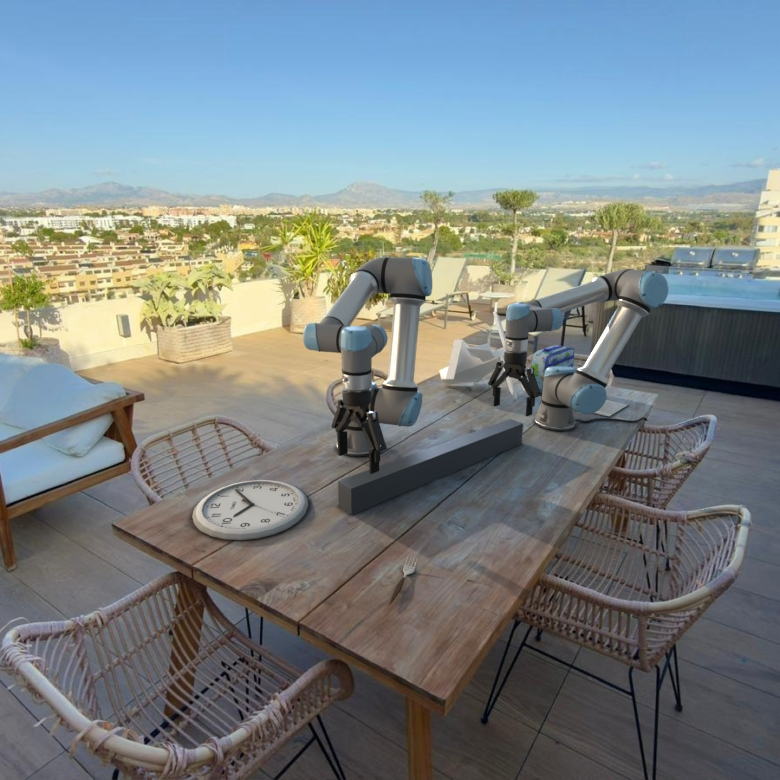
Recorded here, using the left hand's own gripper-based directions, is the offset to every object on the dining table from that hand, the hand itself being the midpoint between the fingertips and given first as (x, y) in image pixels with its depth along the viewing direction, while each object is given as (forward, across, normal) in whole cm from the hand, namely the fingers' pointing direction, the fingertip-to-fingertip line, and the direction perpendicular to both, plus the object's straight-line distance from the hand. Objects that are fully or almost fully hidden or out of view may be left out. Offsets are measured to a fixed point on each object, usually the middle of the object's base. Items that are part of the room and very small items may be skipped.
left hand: (358, 463), depth 140 cm
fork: (+12, +32, -14) cm, 37 cm away
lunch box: (+17, -26, +135) cm, 139 cm away
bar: (+14, 0, +33) cm, 35 cm away
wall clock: (+12, -16, -24) cm, 31 cm away
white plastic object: (+17, -45, +106) cm, 116 cm away
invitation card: (+17, +1, +132) cm, 133 cm away
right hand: (+2, +1, +67) cm, 67 cm away
